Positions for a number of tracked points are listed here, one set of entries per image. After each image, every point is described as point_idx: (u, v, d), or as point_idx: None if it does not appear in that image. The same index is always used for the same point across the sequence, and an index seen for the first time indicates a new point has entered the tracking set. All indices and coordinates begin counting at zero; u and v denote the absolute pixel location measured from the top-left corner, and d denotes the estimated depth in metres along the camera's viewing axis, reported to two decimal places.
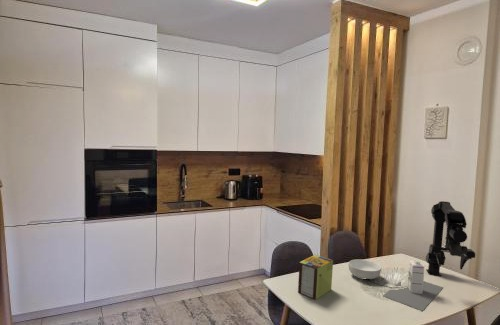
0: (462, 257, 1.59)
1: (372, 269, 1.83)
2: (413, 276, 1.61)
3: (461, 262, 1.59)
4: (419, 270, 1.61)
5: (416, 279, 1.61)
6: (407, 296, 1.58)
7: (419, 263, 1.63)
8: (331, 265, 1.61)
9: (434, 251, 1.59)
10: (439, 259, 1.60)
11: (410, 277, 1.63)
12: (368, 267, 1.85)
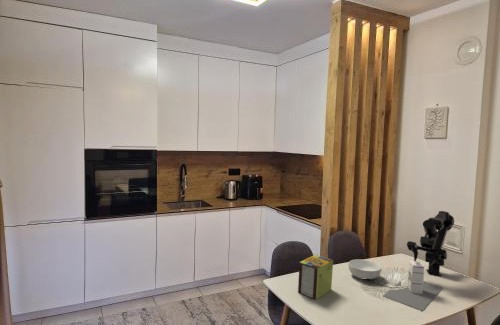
0: None
1: (372, 269, 1.83)
2: (413, 276, 1.61)
3: None
4: (419, 270, 1.61)
5: (416, 279, 1.61)
6: (407, 296, 1.58)
7: (419, 263, 1.63)
8: (331, 265, 1.61)
9: (408, 243, 1.77)
10: (414, 253, 1.73)
11: (410, 277, 1.63)
12: (368, 267, 1.85)
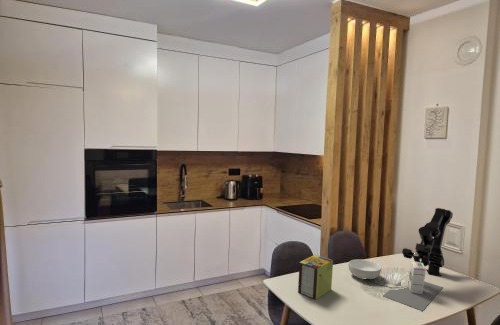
0: None
1: (372, 269, 1.83)
2: (414, 277, 1.60)
3: None
4: (420, 272, 1.59)
5: (417, 280, 1.60)
6: (407, 296, 1.58)
7: (421, 264, 1.61)
8: (331, 265, 1.61)
9: (404, 250, 1.73)
10: None
11: (411, 278, 1.62)
12: (368, 267, 1.85)
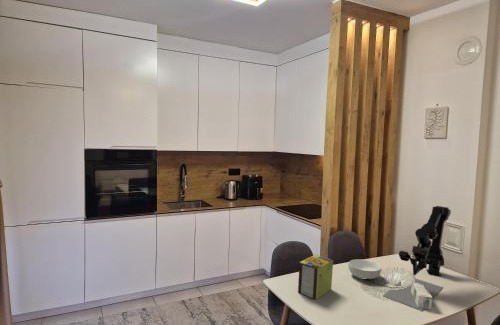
0: None
1: (372, 269, 1.83)
2: None
3: None
4: None
5: None
6: (407, 296, 1.58)
7: (428, 302, 1.47)
8: (331, 265, 1.61)
9: (400, 253, 1.69)
10: (414, 266, 1.63)
11: (414, 296, 1.55)
12: (368, 267, 1.85)
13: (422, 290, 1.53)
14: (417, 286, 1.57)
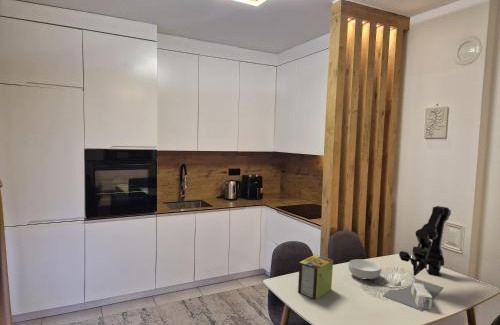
0: None
1: (372, 269, 1.83)
2: None
3: None
4: None
5: None
6: (407, 296, 1.58)
7: (428, 302, 1.47)
8: (331, 265, 1.61)
9: (401, 253, 1.69)
10: (414, 266, 1.64)
11: (414, 296, 1.55)
12: (368, 267, 1.85)
13: (422, 290, 1.53)
14: (417, 286, 1.57)
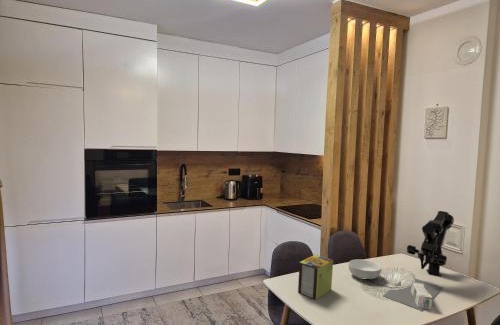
0: (426, 259, 1.72)
1: (372, 269, 1.83)
2: None
3: (424, 263, 1.71)
4: None
5: None
6: (407, 296, 1.58)
7: (428, 302, 1.47)
8: (331, 265, 1.61)
9: (409, 247, 1.75)
10: (422, 260, 1.71)
11: (414, 296, 1.55)
12: (368, 267, 1.85)
13: (422, 290, 1.53)
14: (417, 286, 1.57)
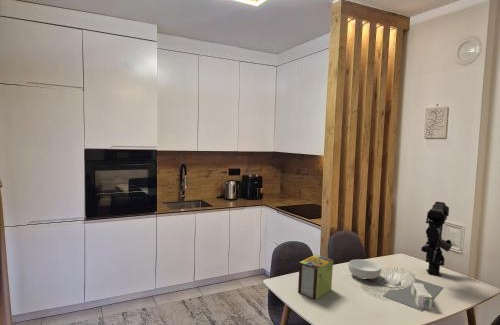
0: None
1: (372, 269, 1.83)
2: None
3: None
4: None
5: None
6: (407, 296, 1.58)
7: (428, 302, 1.47)
8: (331, 265, 1.61)
9: (434, 252, 1.65)
10: (434, 256, 1.72)
11: (414, 296, 1.55)
12: (368, 267, 1.85)
13: (422, 290, 1.53)
14: (417, 286, 1.57)
